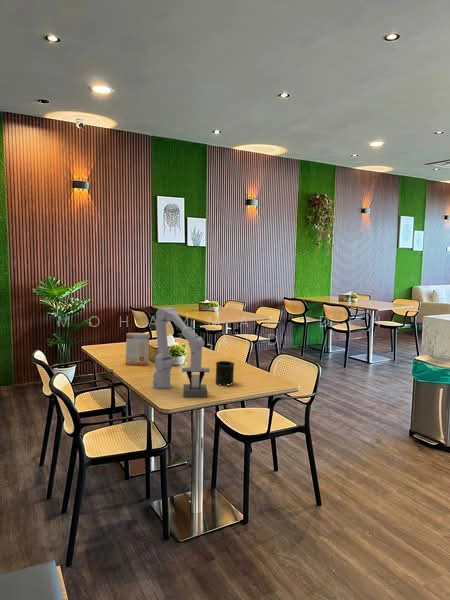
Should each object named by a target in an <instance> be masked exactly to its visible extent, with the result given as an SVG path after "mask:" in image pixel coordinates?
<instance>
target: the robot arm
mask: <svg viewBox="0 0 450 600" xmlns="http://www.w3.org/2000/svg"><path fill="white" fill-rule="evenodd" d="M155 317H156V318H155V331H156V341H157V352H158V353H157V355H156V356H155V357H154V360H155V361H154V368H155V370H154V369H153V375H152V376H153V377H152V378H153V380H152V388H154V389H170V388H171V387H172V386H171V385H172V383H171V370H172V368H173V367H174V365H175V364H174V360H173V356H172V354H171V353H170V352H169V345H168V334H167V324H168V322H169V321H170V322H173V323H174V324H175V326H177V327H178V329H180V331H181V335H182V336H183V338H185V340H186V341H187V342H188V346H189V348H190V363H189V364H190V365H189V366H190V367H189V366H188V367H181V373H186V375H187V378H188V380H189V384H190V386H192V382H191V379H192V374H193V373H199V374H198V375H199V376H200V377H199V386H200V385H201V384H202V381H203V378H204V376H205V373H209V374H210V367H202V358H203V357H202V356H203V355H202V354H203V353H202V352H203V351H202V350H203V347H204V346H205V340H204V338H203V337H202V336H199V335H198V334H197V333H196V332H195V331H194V330H193V327H190V326H187V325H186V323H185V322H184V321H183V319H182V318H181V317H180V315H179V312H178V311H177V310H176V308H175V307H173V306H170V307H169V306H168V307H160V308H158V309H157V311H156V312H155Z"/></svg>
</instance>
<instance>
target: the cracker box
mask: <svg viewBox="0 0 450 600" xmlns="http://www.w3.org/2000/svg"><path fill="white" fill-rule="evenodd" d="M125 338H126V339H125V340H126V342H125V346H126V347H125V365H127V366H144V367H147V366H148V365H149V361H150V360H149V358H150V333H146V332H145V333H144V332H128V333H127V332H126V337H125Z"/></svg>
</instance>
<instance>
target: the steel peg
mask: <svg viewBox="0 0 450 600" xmlns="http://www.w3.org/2000/svg"><path fill="white" fill-rule="evenodd" d="M199 375H200V374H196V373H194V374H193V373H192V378H191V382H192V386H191V389H199V377H200V376H199Z"/></svg>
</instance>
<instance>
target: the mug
mask: <svg viewBox="0 0 450 600" xmlns="http://www.w3.org/2000/svg"><path fill="white" fill-rule="evenodd" d="M215 367H216V368H215V384H216V383H217V384H216V385H218V384H221V385H220V386H222V385H227V384H231V383H233V384H234V374H235V372H234V370H235V369H234V367H235V362H232V361H226V360H221V361H217V362H215Z"/></svg>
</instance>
